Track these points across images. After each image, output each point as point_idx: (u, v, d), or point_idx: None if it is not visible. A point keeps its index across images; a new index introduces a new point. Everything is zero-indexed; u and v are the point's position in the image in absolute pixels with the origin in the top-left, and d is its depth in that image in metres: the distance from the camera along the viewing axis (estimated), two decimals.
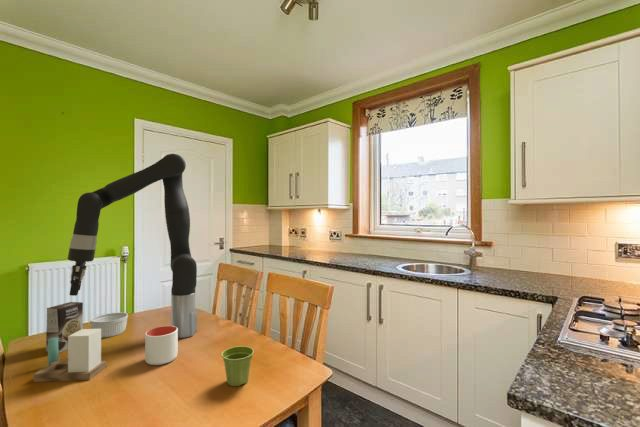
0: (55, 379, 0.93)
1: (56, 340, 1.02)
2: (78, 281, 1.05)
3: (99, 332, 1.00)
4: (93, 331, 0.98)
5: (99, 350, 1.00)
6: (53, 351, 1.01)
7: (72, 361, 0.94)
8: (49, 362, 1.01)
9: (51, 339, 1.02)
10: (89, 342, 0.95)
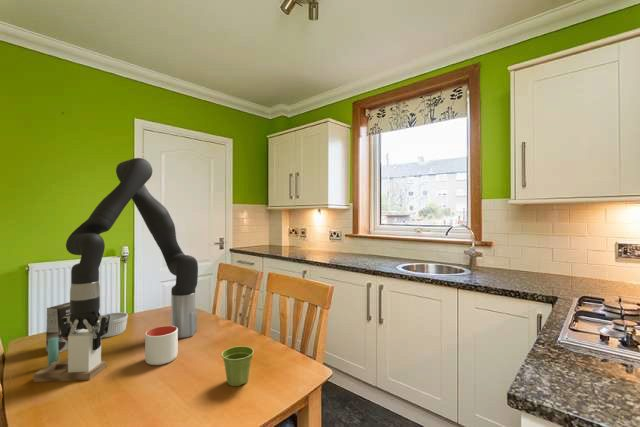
0: (55, 379, 0.93)
1: (56, 340, 1.02)
2: (107, 331, 0.99)
3: None
4: None
5: (99, 350, 1.00)
6: (53, 351, 1.01)
7: (72, 361, 0.94)
8: (49, 362, 1.01)
9: (51, 339, 1.02)
10: (89, 342, 0.95)
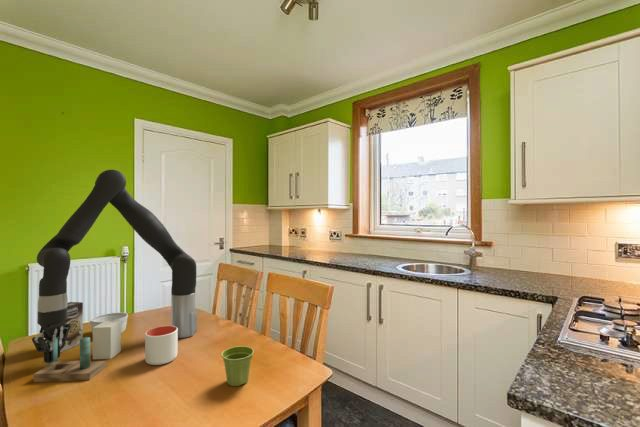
0: (55, 379, 0.93)
1: (55, 340, 1.02)
2: None
3: (119, 324, 1.13)
4: (114, 323, 1.11)
5: (119, 340, 1.13)
6: None
7: (97, 349, 1.07)
8: None
9: None
10: (111, 333, 1.08)
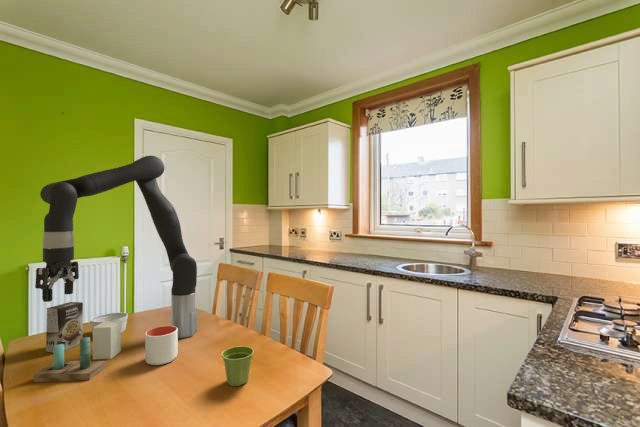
0: (55, 379, 0.93)
1: (61, 347, 0.97)
2: None
3: (119, 324, 1.13)
4: (114, 323, 1.11)
5: (119, 340, 1.13)
6: (58, 359, 0.96)
7: (97, 349, 1.07)
8: None
9: (56, 346, 0.96)
10: (111, 333, 1.08)
